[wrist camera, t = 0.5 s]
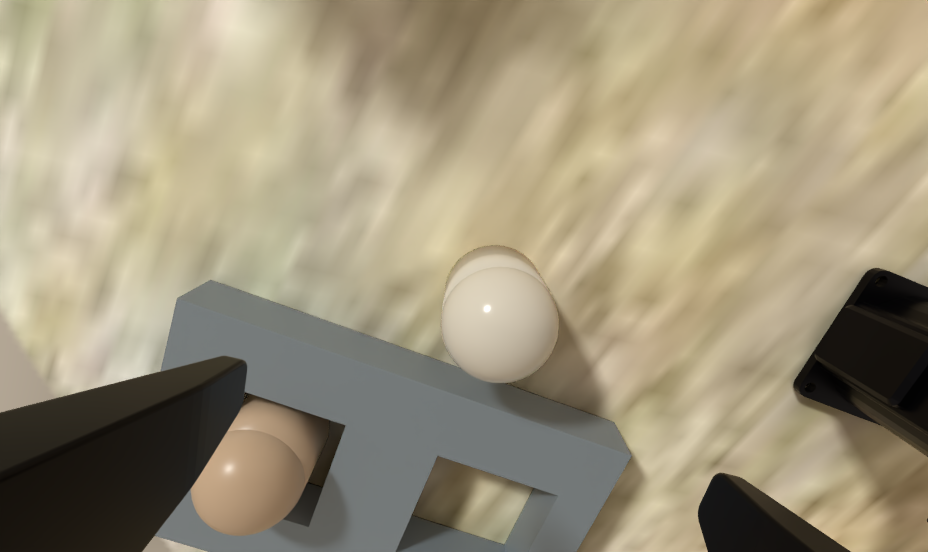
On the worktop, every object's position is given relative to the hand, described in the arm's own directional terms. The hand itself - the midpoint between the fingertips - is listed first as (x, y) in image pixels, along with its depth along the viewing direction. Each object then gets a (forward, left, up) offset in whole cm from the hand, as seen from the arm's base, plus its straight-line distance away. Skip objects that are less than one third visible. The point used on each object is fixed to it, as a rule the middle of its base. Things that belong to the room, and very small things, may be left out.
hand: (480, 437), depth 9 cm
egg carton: (+1, +11, -12) cm, 16 cm away
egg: (-1, +1, -12) cm, 12 cm away
